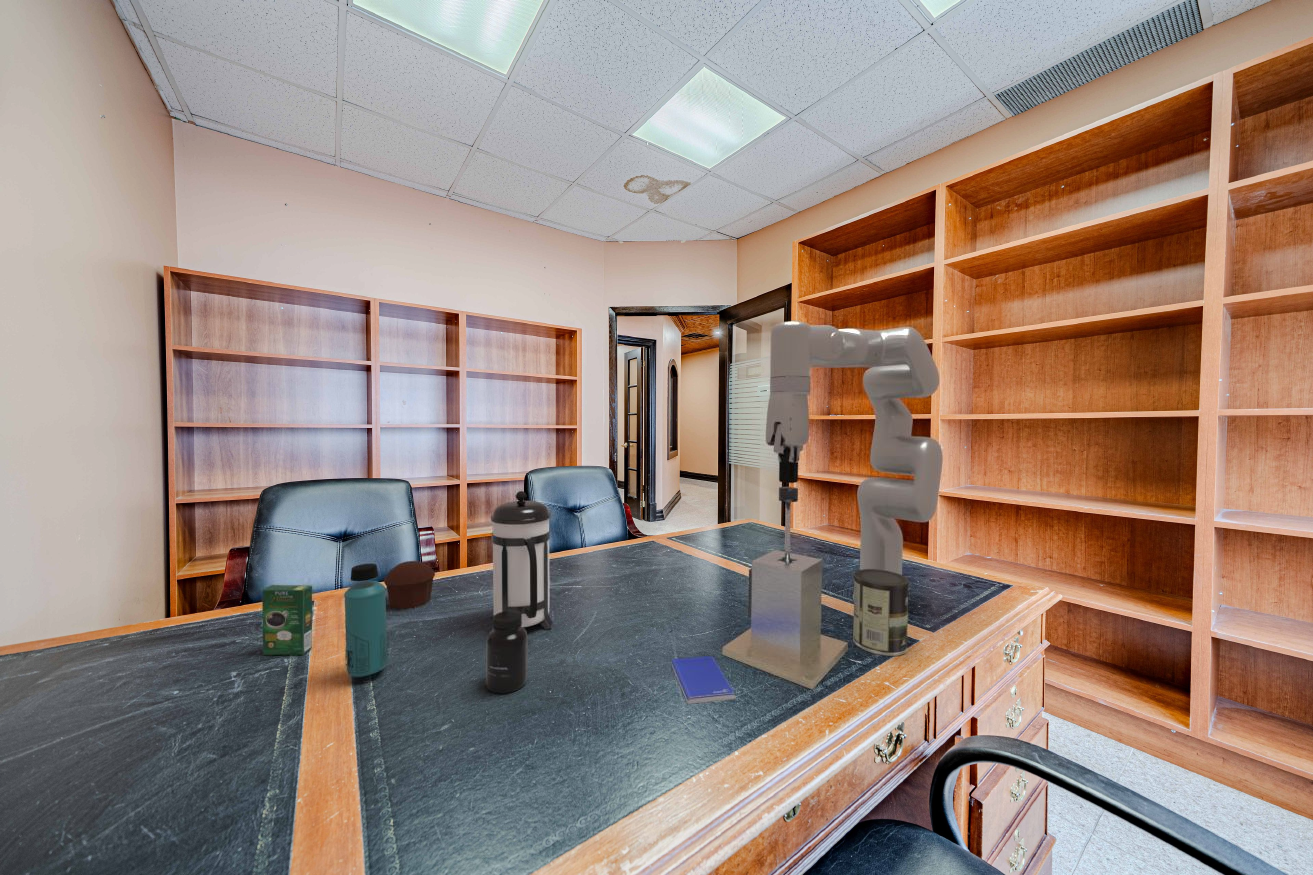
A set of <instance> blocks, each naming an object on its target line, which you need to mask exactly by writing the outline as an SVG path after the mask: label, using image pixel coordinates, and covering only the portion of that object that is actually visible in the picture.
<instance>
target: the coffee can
mask: <svg viewBox="0 0 1313 875" xmlns="http://www.w3.org/2000/svg"><path fill="white" fill-rule="evenodd" d="M909 586H910V579H909V578H908V577H906V576H904V575H903V574H902V575H900V574H898V573H894V572H890V571H885V570H878V569H863V570H860V569H858V570H855V571H854V572H853V593H854V600H853V631H852V632H853V633H852V634H853V635H852V641H853V643H854V644H855V645H856V646H857V647H858V648H860V649H862V650H863V651H866V652H868V653H871V654H875V655H877V656H878V655H879V656H884V657H885V656H886V657H898V656H903V655H905V654H906V653H907V652H908V621H909V620H908V618H909V617H908V616H909Z"/></svg>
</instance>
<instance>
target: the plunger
mask: <svg viewBox="0 0 1313 875" xmlns="http://www.w3.org/2000/svg"><path fill="white" fill-rule="evenodd" d="M778 501H779V502H784V503H785V509H784V510H785V512H784V513H785V514H784V516H785V521H784V523H785V526H784V527H785V528H784V552H785V562H787V563H790V553H791V521H792V520H791V519H792V517H791V516H792V513H791V512H792V503H797V502H799V488H798V487H796V486H795V487H794V486H793V487H792V486H780V487H778Z"/></svg>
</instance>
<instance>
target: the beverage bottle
mask: <svg viewBox="0 0 1313 875" xmlns="http://www.w3.org/2000/svg"><path fill="white" fill-rule="evenodd" d="M378 576H379V571H378V566H377V563H362V564H357V565H355V566H352V567H351V572H350V581H351V582H357V583H354V584H352V585H350V587H349V588H348V589H347V590H346V591H345V592H344V594H343V598H344V613H345V614H344V622H345V623H344V628H345V635H344V636H345V638H344V641H345V643H344V645H345V658H344V659H345V662H344V663H345V667H346V669H345V670H346V672H347V675H349V676H351V677H355V678H357V677H359V678H361V677H365V676H370V675H373V674H376V673H378V672H380V671H382V670H383V669H384V668H385V667H386V666H387V664H388V658H389V656H388V655H389V649H388V648H389V643H388V639H389V638H388V622H387V619H388V618H387V613H386V612H387V610H386V609H387V608H386V605H387V604H386V585H385V584H383V583H381V582H379V581H377V580H373V579H376V578H377V577H378Z"/></svg>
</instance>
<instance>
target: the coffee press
mask: <svg viewBox="0 0 1313 875" xmlns="http://www.w3.org/2000/svg"><path fill="white" fill-rule="evenodd" d="M515 498H516V500H515V501H509V502H504V503H502V504H500V505H498V506H496V507H495V508H494V510H493V512H492V514H491V515H490V521H491V523H492V532H491V543H492V578H493V579H492V586H493V588H492V590H493V596H492V597H493V615H492V616H491V619H492V621H493V617H494V615H495V614H497V613H500V612H503V611H517V612H520V613H521V615H522V626H521V627H523V628H527V627H531V626H534V625H537V624H538V625H539V624H540V626H542V628H544V629H545V631H546V630H549V629H552V627H553V626H554V623H553V621H552V619H551V618H550V615H549V613H550V539H551V529H550V519H551V516H552V513H551V512H550V511H549V508H548V507H547V505H546V504H544V503H542V502H539V501H535V500H526V498H527V494H526V492H525V491H522V490H519V491H518V492H517V493H516V494H515ZM546 622H547V623H546Z"/></svg>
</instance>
